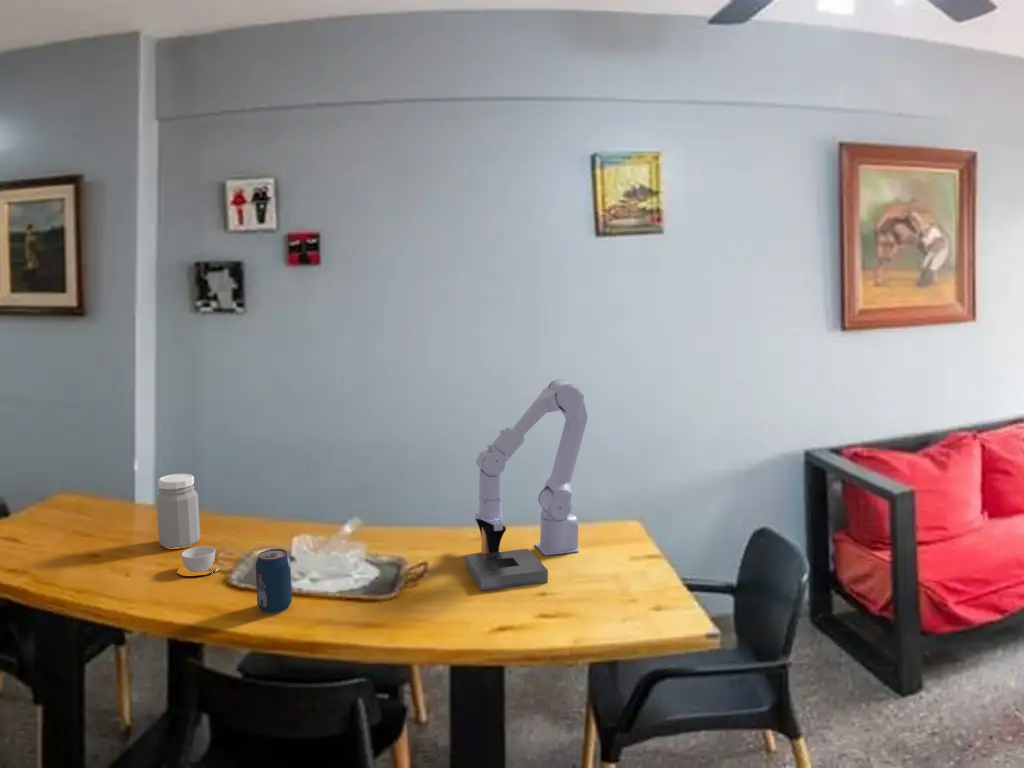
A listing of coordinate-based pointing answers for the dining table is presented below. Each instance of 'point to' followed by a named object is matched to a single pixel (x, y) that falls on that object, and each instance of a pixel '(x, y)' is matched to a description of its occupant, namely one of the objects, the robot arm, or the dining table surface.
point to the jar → (177, 511)
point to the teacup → (199, 558)
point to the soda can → (273, 581)
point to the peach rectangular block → (484, 543)
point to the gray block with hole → (506, 569)
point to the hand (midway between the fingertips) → (490, 548)
